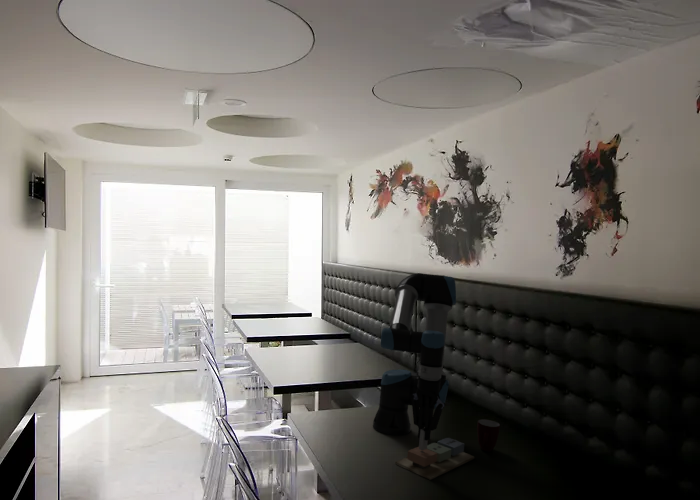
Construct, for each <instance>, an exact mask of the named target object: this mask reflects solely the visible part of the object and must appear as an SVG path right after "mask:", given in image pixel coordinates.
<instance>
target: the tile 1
mask: <svg viewBox="0 0 700 500" xmlns="http://www.w3.org/2000/svg"><path fill="white" fill-rule="evenodd" d="M406 457H407V459H408V460H410V461H412V462H415V463H417V464H419V465H421V466H424V467H425V466H428V465H430V464H432V463H434V462H436V461H437V453H436V452H433V451H431V450H428V449H425V450H420V449H419V446H417V447H414V448H411V449H409V450H407V456H406Z"/></svg>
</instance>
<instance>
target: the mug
mask: <svg viewBox="0 0 700 500" xmlns="http://www.w3.org/2000/svg"><path fill="white" fill-rule="evenodd" d="M500 427H501V425H500V423H499V422H497V421H494V420H491V419H486V418H485V419H484V418H483V419H478V420H477V426H476V431H477V433H476V434H477V442H478V444H479V447H480V449H481V450H482V451H484V452H492V451H493V450H494V448H495V447H496V445H497V441H498V438H499V434H500Z"/></svg>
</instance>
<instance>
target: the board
mask: <svg viewBox="0 0 700 500" xmlns="http://www.w3.org/2000/svg"><path fill="white" fill-rule="evenodd" d="M474 459H475V456H474V455H471V454H470V453H466V452H465V451H463V452H461V453H459V454H457V455H454V456H453V455H451V457H450V458H448V459H446V460H443V461H441V462H438V461H436V462H434V463H432V464H430V465H428V466H425V467H424V466H421V465H419V464H417V463H415V462H412V461H410V460H408V459H407V456H406V457H404V458H401V459H399V460H396V461H395V465H397V466H399V467H400V468H402V469H403V468H404V469H405V470H408V471H410V472H411V473H414V474H417V475H419V476H421V477H423V478H425V479H428V480H429V481H431V480H434V479H435V478H438V477H440V476H441V475H443V474H445V473H448V472H450V471H452V470H453V469H456V468H457V467H460V466H462V465H464V464H466V463H468V462H471V461H472V460H474Z"/></svg>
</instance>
